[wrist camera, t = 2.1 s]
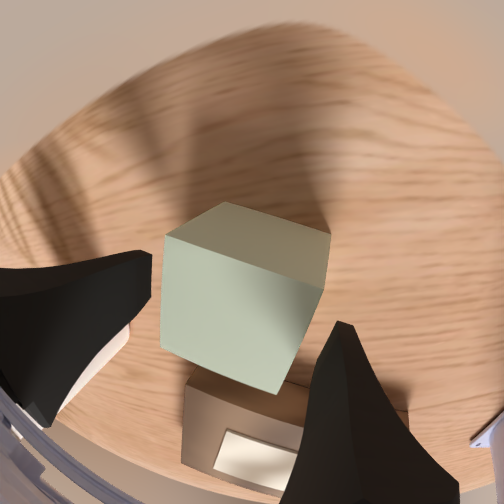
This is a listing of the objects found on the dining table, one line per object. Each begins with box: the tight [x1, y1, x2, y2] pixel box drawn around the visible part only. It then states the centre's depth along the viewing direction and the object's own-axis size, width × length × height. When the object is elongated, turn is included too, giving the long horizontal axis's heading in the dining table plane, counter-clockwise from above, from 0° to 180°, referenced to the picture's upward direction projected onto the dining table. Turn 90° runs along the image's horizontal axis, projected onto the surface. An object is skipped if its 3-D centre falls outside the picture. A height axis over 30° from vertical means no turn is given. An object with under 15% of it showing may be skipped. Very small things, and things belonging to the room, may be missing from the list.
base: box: [181, 365, 409, 498], centre depth 17 cm, size 14×14×3 cm
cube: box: [160, 201, 331, 395], centre depth 11 cm, size 5×5×5 cm
